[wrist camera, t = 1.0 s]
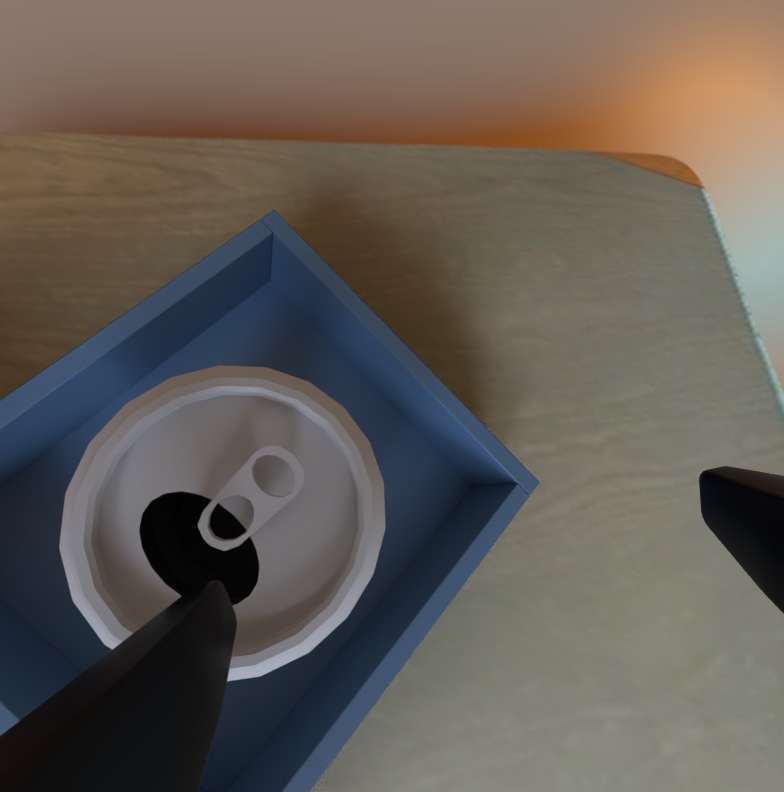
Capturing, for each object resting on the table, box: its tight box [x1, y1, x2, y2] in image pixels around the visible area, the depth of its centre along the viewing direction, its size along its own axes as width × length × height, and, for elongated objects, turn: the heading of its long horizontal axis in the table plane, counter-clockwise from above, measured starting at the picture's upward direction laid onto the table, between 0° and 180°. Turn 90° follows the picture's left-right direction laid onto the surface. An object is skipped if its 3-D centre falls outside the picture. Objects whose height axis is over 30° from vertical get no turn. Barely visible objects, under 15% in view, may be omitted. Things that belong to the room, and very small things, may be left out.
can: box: [59, 365, 385, 681], centre depth 15 cm, size 8×8×12 cm
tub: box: [0, 210, 539, 792], centre depth 19 cm, size 19×17×5 cm
